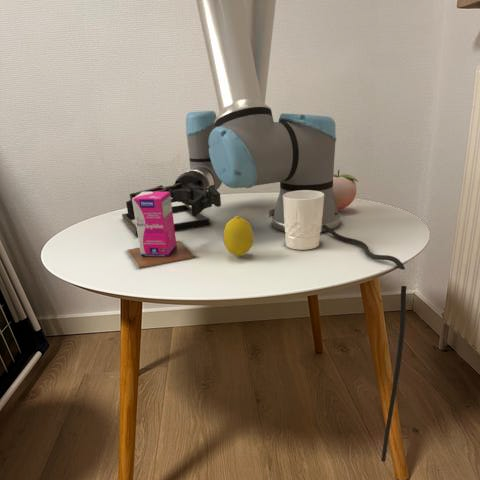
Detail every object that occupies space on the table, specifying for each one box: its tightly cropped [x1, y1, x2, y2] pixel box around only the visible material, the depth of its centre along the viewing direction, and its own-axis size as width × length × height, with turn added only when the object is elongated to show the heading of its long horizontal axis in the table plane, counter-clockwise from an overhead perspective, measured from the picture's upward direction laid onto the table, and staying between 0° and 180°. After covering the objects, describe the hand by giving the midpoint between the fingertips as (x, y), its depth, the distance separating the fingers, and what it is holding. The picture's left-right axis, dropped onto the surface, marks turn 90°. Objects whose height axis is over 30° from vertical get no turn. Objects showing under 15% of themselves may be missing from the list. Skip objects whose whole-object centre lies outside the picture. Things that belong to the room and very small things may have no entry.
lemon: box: [223, 215, 254, 259], centre depth 81 cm, size 6×6×8 cm
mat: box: [127, 240, 196, 269], centre depth 86 cm, size 11×11×1 cm
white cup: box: [283, 190, 324, 251], centre depth 85 cm, size 8×8×10 cm
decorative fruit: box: [333, 169, 359, 212], centre depth 105 cm, size 9×8×10 cm
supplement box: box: [132, 192, 177, 257], centre depth 84 cm, size 6×6×12 cm
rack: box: [121, 204, 210, 238], centre depth 107 cm, size 18×18×2 cm
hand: (160, 209), depth 85 cm, fingers open, 13 cm apart
